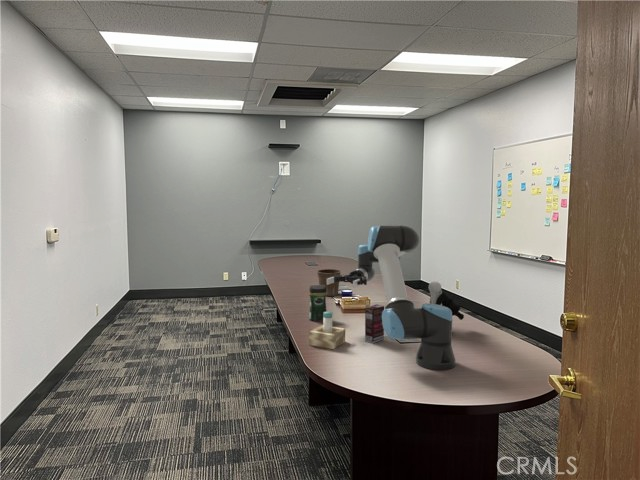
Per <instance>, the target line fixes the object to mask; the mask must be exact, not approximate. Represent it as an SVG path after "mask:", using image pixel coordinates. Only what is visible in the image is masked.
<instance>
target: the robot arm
mask: <svg viewBox="0 0 640 480" xmlns="http://www.w3.org/2000/svg"><path fill="white" fill-rule="evenodd" d="M419 245H420V235H419V233H418V232H417V231H416V230H415V229H414V228H412V227H410V226H408V225H379V224H378V225H373V226H371V227H370V229H369V233H368V237H367V244H360V245H359V246H358V251H357V252H358V253H357V255H358V256H357V258H358V261H357V263H358V264H357V269H354V270H351V271H350V272H349V273H348V274H340V275H338V276H329V277H328V279H327V285H328V284H333V283H334V282H339V283H341V282H343V283H350V284H351V285H352V287H354V288H355V287H358V286H362V285H365V286H367V284H368V282H369V281H371V280H372V279H374V277H375V274H376V271H375V269H374V268H373V263H377V264H378V265H379V269H380V275H381V279H382V285H383V289H384V294H385V298H386V303H387V304H385V305H384V310H383V312H382V325H383V328H384V334H385V335H386V337H387V338H389V339H390V340H399V341H401V340H413V339H414V340H418V339H420V345H419V347H418V350H417V353H416V356H415V362H416V364H417V365H418V366H421V367H422V368H425V369H429V370H436V371H444V370H450V369H451V370H452V369H453V368H455V366H456V357H455V354H454V350H453V346H452V337H453V336H452V335H453V334H452V333H453V316H452V311H451V310H450V309H449V308H447V307H445V306H441V305H442V304H441V305H437V304H430V303H428V302H427V303H423V304H422V305H421V306H420V308H419V307H415V304H414V302H413V301H412V300H410V299H409V296H408V293H407V288H406V285H405V280H404V276H403V271H402V267H401V263H400V261H401V257H402V256H403V255H404V254H406V253H411V252H413V251H415V250H416V249H417V248H418V247H419Z"/></svg>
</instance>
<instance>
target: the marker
mask: <svg viewBox="0 0 640 480" xmlns="http://www.w3.org/2000/svg"><path fill="white" fill-rule="evenodd" d="M322 325H323V332H324V333H330V334H332V327H333V312H332V311H327V312H323V320H322Z"/></svg>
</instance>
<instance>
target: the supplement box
mask: <svg viewBox="0 0 640 480" xmlns="http://www.w3.org/2000/svg"><path fill="white" fill-rule="evenodd" d="M364 309H365V311H364V314H365V316H364V317H365V322H364V329H365V330H364V331H365V332H364V341H365V342H367V343H370V344H374V343H377V342H380V341H383V340H385V331H384V328H383V325H382V312H383V310H385V305H383V304H382V305H381V304H374V305H370V306H366V307H365V308H364Z"/></svg>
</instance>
